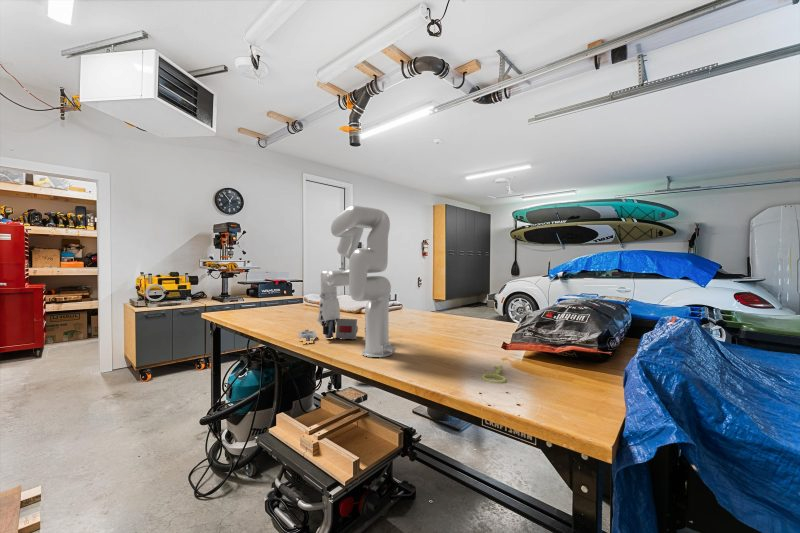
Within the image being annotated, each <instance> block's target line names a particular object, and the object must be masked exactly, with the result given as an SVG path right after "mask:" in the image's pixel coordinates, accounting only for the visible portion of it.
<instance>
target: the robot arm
mask: <svg viewBox="0 0 800 533" xmlns="http://www.w3.org/2000/svg"><path fill="white" fill-rule="evenodd" d="M390 227H391V222H390V217H389V215H388V214H387V213H386V212H385V211H384V210H382V209H379V208H373V207H367V206H361V205H352V206H349V207H347V208H346V209H344V210H343V211H342V212H340V213H339V214H338V215H337V216H336V217H335V218H334V220H332V223H331V224H330V231H331V234H332V236H334V237H336V238H339V242H338V246H336V247H337V248H336V250H337V253H338V254H339V255H340V256H342V257H344V258H346V259H348V266H347V269H346V270H345V269H344V270H341V269H339V270H322V271H321V272H320V295H319V298H320V300H319V305H318V318H317V321H316V322H317V323H319V324H320V325H321V326H322V334H323V335H324V336H325V335H328V334H329V330H328V326H327V325H328V320H333V334H336V326H337V319H341V308H340V301H339V298H338V295H337V294H338V291H337V290H338V288H339V287H346V286H347V287H348V291H349V295H350V296H351V298H352V300H353V301H355V302H367V303H366V306H365V310H364V312H365V314H364V315H365V316H364V317H365V318H364V322H365V324H364V326H365V328H364V333H365V334H364V335H365V336H364V338H365V348H363V349H362V350H361V355H362V354H363V355H364V357H366V356H367V357H366V358H372V357H379V358H386V357H389V356H392V354H394V353H395V352H396V350H397V347H396V346H392V342H390V341H389V340H390V338H389V336H390V335H389V332H390V330H389V327H390V326H389V325H390V324H389V323H390V322H389V319H390V318H389V316H390V315H389V310H390V309H389V308H390V307H389V305H390V304H389V303H390V297H391V292H392V289H391V288H392V285H391V282H390V280H389V279H388V278H387V277H385V276H382V275H370V276H368V274H376V273H382V272H385V271H386V270H387V267H388V259H389V258H388V257H389V255H388V254H389V253H388V250H389V234H390V229H391V228H390ZM364 229H370V231H369V233H368V235H367V238H366V248H358V247H359V244H360V242H361V238H362V237H363V232H364ZM337 287H338V288H337ZM363 355H362V356H363Z"/></svg>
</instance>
